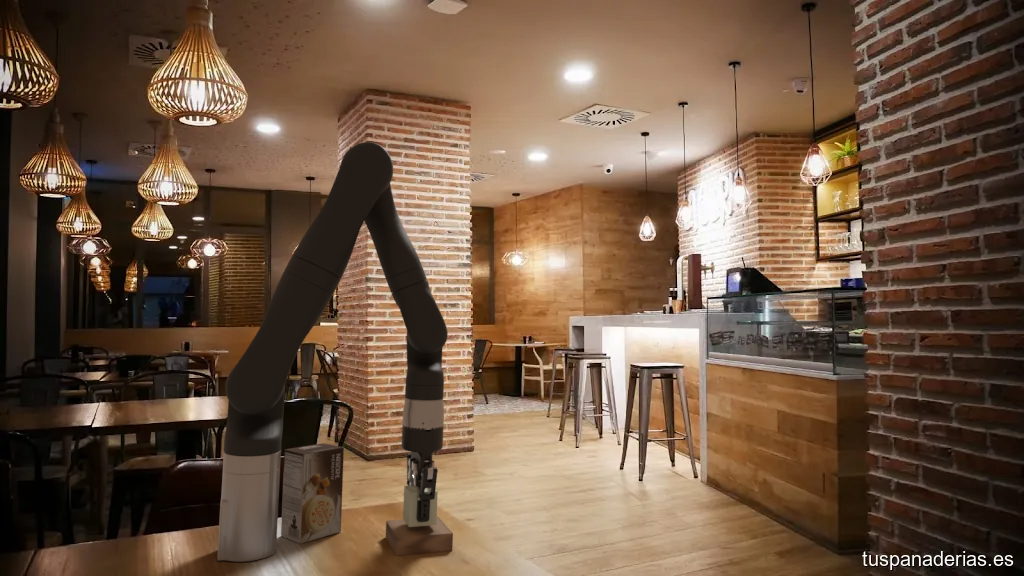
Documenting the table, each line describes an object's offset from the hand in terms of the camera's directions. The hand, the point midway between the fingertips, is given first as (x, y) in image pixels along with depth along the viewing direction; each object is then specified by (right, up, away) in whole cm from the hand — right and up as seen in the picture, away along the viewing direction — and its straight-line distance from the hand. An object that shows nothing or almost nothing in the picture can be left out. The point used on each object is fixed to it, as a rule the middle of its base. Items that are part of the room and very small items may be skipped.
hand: (419, 516), depth 122 cm
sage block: (0, -1, 0) cm, 1 cm away
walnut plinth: (0, -5, 0) cm, 5 cm away
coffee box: (-21, -4, +3) cm, 21 cm away
